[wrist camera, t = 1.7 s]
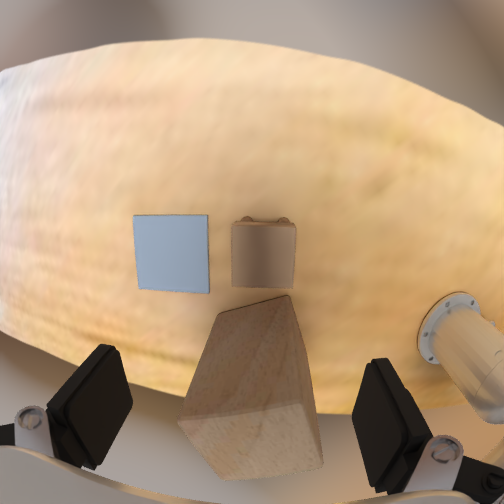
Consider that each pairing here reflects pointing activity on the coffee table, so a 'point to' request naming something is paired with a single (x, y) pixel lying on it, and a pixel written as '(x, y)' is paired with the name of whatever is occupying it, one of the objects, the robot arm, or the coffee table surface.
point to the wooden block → (254, 396)
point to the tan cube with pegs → (263, 253)
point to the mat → (172, 252)
